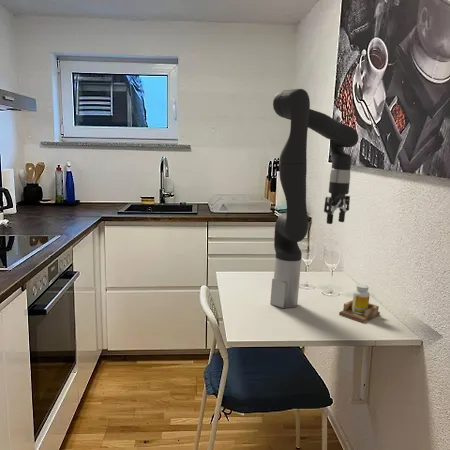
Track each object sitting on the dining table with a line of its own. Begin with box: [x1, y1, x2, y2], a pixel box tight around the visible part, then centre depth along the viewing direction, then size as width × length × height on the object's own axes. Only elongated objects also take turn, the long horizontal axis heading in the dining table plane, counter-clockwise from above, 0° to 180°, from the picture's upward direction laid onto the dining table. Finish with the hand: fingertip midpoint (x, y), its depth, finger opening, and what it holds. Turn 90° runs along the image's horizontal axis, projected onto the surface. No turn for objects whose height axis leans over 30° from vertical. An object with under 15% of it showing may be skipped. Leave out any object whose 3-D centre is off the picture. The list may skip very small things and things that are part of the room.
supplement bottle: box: [352, 283, 371, 315], centre depth 164 cm, size 5×5×10 cm
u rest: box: [338, 299, 381, 324], centre depth 165 cm, size 12×9×4 cm
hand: (335, 222), depth 183 cm, fingers open, 8 cm apart
